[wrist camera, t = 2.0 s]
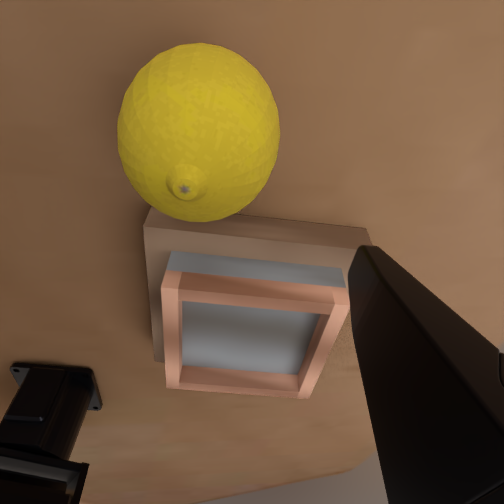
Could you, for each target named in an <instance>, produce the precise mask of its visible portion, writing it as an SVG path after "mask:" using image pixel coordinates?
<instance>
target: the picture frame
mask: <svg viewBox="0 0 504 504" xmlns="http://www.w3.org/2000/svg"><path fill="white" fill-rule="evenodd" d="M143 233H144V245H145V256H146V267H147V279H148V290H149V301H150V313H151V324H152V335H153V347H154V358H155V361H157V362H165V370H166V388H173V389H185V390H198V391H211V392H224V393H237V394H249V395H262V396H275V397H288V398H300V399H309V397H310V395H311V393H312V391H313V388H314V386H315V384H316V382H317V380H318V377H319V375H320V373H321V371H322V369H323V366H324V364H325V362H326V360H327V357H328V355H329V353H330V351H331V349H332V346H333V344H334V342H335V340H336V338H337V335H338V333H339V331H340V329H341V326H342V324H343V322H344V320H345V318H346V315H347V313H348V311H349V309H350V301H349V289H348V271H349V268H350V265H351V263H352V261H353V258H354V256H355V253H356V251H357V249H358V247H359V246H360V245H372V243H371V240H370V237H369V235H368V232H367V230H366V229H364V228H355V227H346V226H337V225H328V224H319V223H310V222H301V221H292V220H283V219H274V218H265V217H257V216H248V215H239V214H232V215H230V216H228V217H225V218H223V219H220V220H215V221H209V222H188V221H184V220H180V219H176V218H173V217H171V216H168V215H166V214H164V213H162V212H160V211H158V210H157V209H156V208H154V207H153V206H151V208H150V211H149V213H148V216H147V218H146V220H145V223H144V225H143ZM372 246H373V245H372Z"/></svg>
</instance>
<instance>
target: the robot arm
mask: <svg viewBox="0 0 504 504" xmlns="http://www.w3.org/2000/svg"><path fill="white" fill-rule="evenodd" d="M348 289H349V301H350V312H351V323H352V332H353V338H354V344H355V349H356V353H357V358H358V363H359V367H360V372H361V377H362V381H363V386H364V391H365V395H366V400H367V405H368V409H369V414H370V419H371V423H372V428H373V433H374V437H375V442H376V447H377V451H378V456H379V461H380V466H381V470H382V475H383V479H384V484H385V489H386V493H387V498H388V503H389V504H504V353H499V349H498V348H496V347H495V346H494V345H493V344H492V343H491V342H489V341H488V340H487V339H486V338H485V337H484V336H482V335H481V334H480V333H479V332H478V331H477V330H475V329H474V328H473V327H472V326H471V325H470V324H468V323H467V322H466V321H465V320H464V319H462V318H461V317H460V316H459V315H458V314H457V313H455V312H454V311H453V310H452V309H451V308H450V307H448V306H447V305H446V304H445V303H444V302H443V301H441V300H440V299H439V298H438V297H437V296H436V295H434V294H433V293H432V292H431V291H430V290H428V289H427V288H426V287H425V286H424V285H423V284H421V283H420V282H419V281H418V280H417V279H416V278H414V277H413V276H412V275H411V274H410V273H409V272H407V271H406V270H405V269H404V268H403V267H402V266H400V265H399V264H398V263H397V262H396V261H394V260H393V259H392V258H391V257H390V256H389V255H387V254H386V253H385V252H384V251H383V250H382V249H380V248H379V247H377V246H372V245H360V246H359V247H358V249H357V251H356V253H355V256H354V258H353V261H352V263H351V265H350V268H349V271H348ZM10 371H11V373H12V375H13V376H14V378H15V380H16V382H17V383H18V385H19V389H18V391H17V393H16V395H15V397H14V398H13V400H12V402H11V404H10V406H9V407H8V409H7V411H6V413H5V415H4V417H3V419H2V421H1V423H0V504H79V502H80V498H81V494H82V490H83V487H84V483H85V479H86V475H87V472H88V468H89V464H88V463H84V462H82V463H77V462H73V461H68V460H69V458H70V455H71V452H72V450H73V447H74V444H75V442H76V439H77V436H78V434H79V431H80V428H81V426H82V423H83V420H84V418H85V415H86V412H87V410H96V411H98V410H101V408H102V405H103V404H102V401H101V397H100V394H99V390H98V387H97V383H96V380H95V377H94V373H93V371H92V370H90V369H87V368H76V367H63V366H51V365H39V364H26V363H13V364H12V366H11V367H10Z"/></svg>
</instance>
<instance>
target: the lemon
mask: <svg viewBox="0 0 504 504" xmlns="http://www.w3.org/2000/svg"><path fill="white" fill-rule="evenodd" d="M117 134H118V151H119V155H120V158H121V162H122V165H123V169H124V172H125V174H126V175H127V177H128V179H129V181H130V182H131V184H132V186H133V187H134V189H135V190H136V191H137V192H138V193H139V194H140V195H141V197H142V198H143V199H144V200H145V201H146V202H147V203H149V204H150V205H151V206H153V207H154V208H156V209H157V210H158V211H160V212H162V213H164V214H166V215H168V216H171V217H173V218H176V219H180V220H184V221H188V222H209V221H215V220H220V219H223V218H225V217H228V216H230V215H232V214H235V213H237V212H238V211H240V210H241V209H242V208H244V207H245V206H246V205H248V204H249V203H250V202H251V201H253V199H254V198H255V197H256V196H257V194H258V193H259V192H260V191H261V189H262V188H263V187H264V185H265V184H266V182H267V180H268V178H269V176H270V173H271V171H272V169H273V167H274V164H275V162H276V159H277V153H278V146H279V139H280V127H279V117H278V110H277V106H276V104H275V101H274V99H273V96H272V93H271V91H270V88H269V86H268V85H267V83H266V82H265V81H264V79H263V78H262V76H261V75H260V74H259V72H258V71H257V69H256V68H254V67H253V66H252V65H251V64H250V63H249V62H247V61H246V60H245V59H244V58H243V57H242V56H240V55H238V54H236V53H234V52H232V51H230V50H228V49H226V48H224V47H222V46H217V45H211V44H205V43H194V44H184V45H179V46H176V47H174V48H172V49H169V50H167V51H164V52H162V53H160V54H158V55H157V56H155V57H154V58H153V59H152V60H151V61H150V62H149V63H147V64H146V65H145V66H144V67H143V68H142V69H140V70H139V72H138V73H137V75H136V76H135V78H134V80H133V81H132V83H131V84H130V86H129V88H128V89H127V91H126V93H125V95H124V99H123V103H122V106H121V110H120V114H119V117H118V123H117Z"/></svg>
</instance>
